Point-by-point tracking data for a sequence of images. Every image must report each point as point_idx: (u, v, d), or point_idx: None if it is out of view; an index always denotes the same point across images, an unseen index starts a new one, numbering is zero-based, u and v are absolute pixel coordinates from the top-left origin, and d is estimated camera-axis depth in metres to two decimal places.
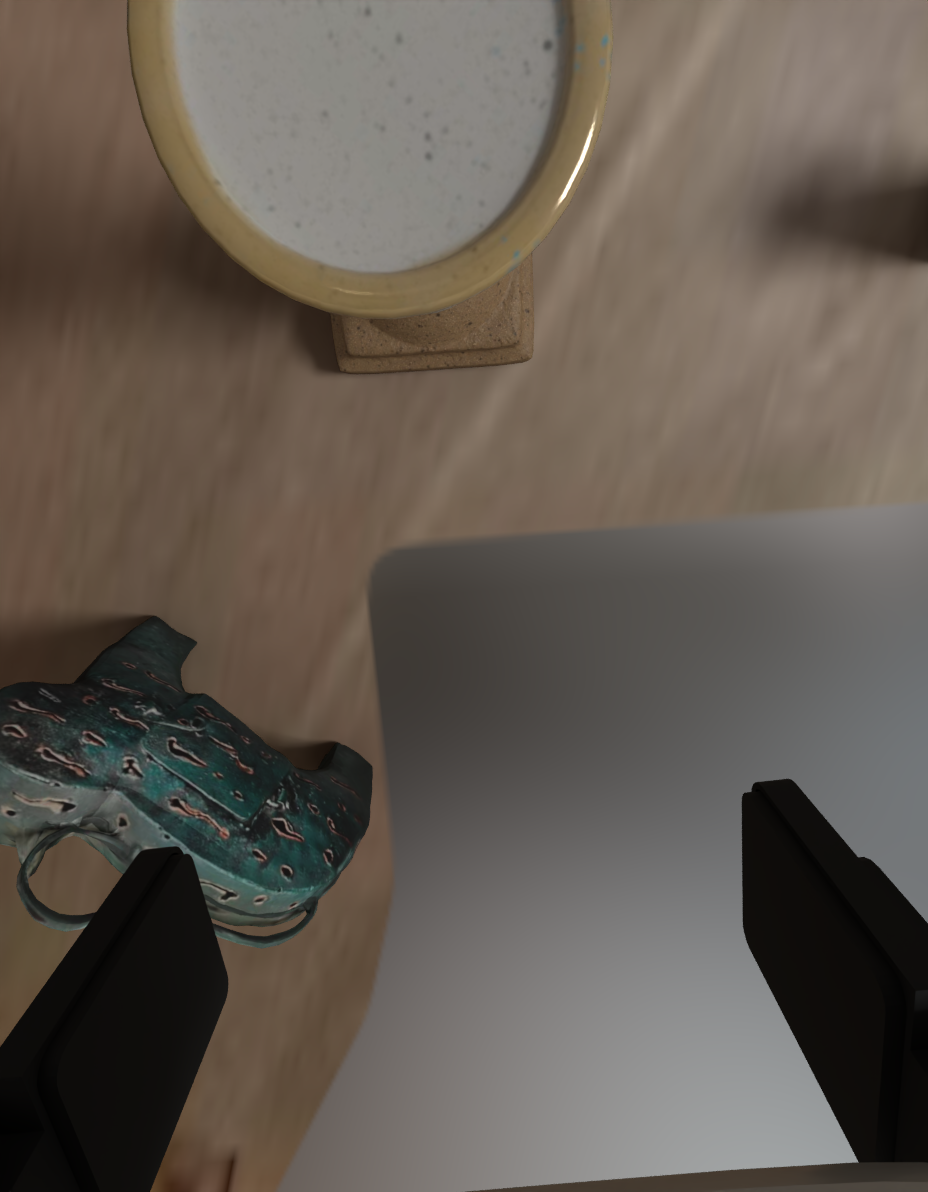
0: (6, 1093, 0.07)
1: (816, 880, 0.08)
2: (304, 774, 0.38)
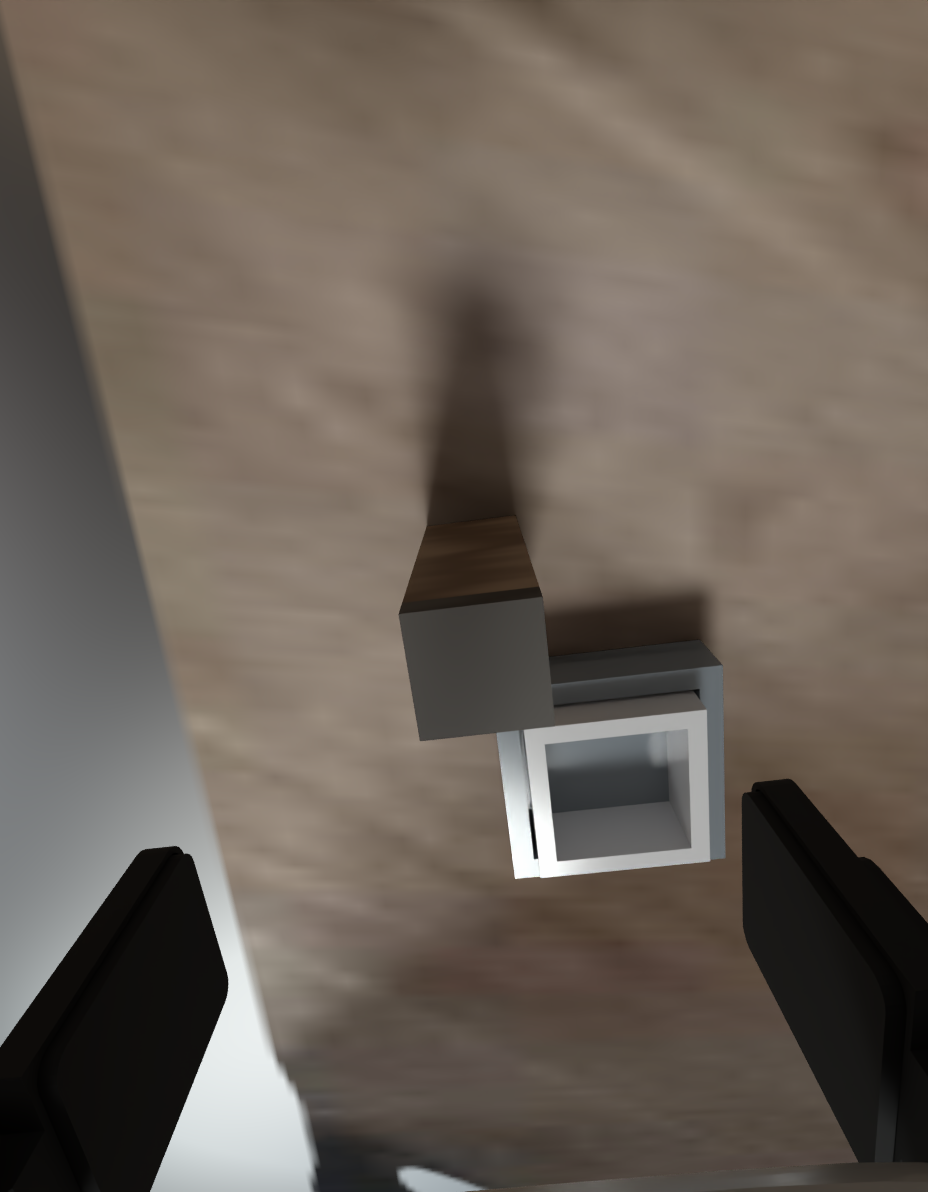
0: (6, 1093, 0.07)
1: (816, 880, 0.08)
2: None
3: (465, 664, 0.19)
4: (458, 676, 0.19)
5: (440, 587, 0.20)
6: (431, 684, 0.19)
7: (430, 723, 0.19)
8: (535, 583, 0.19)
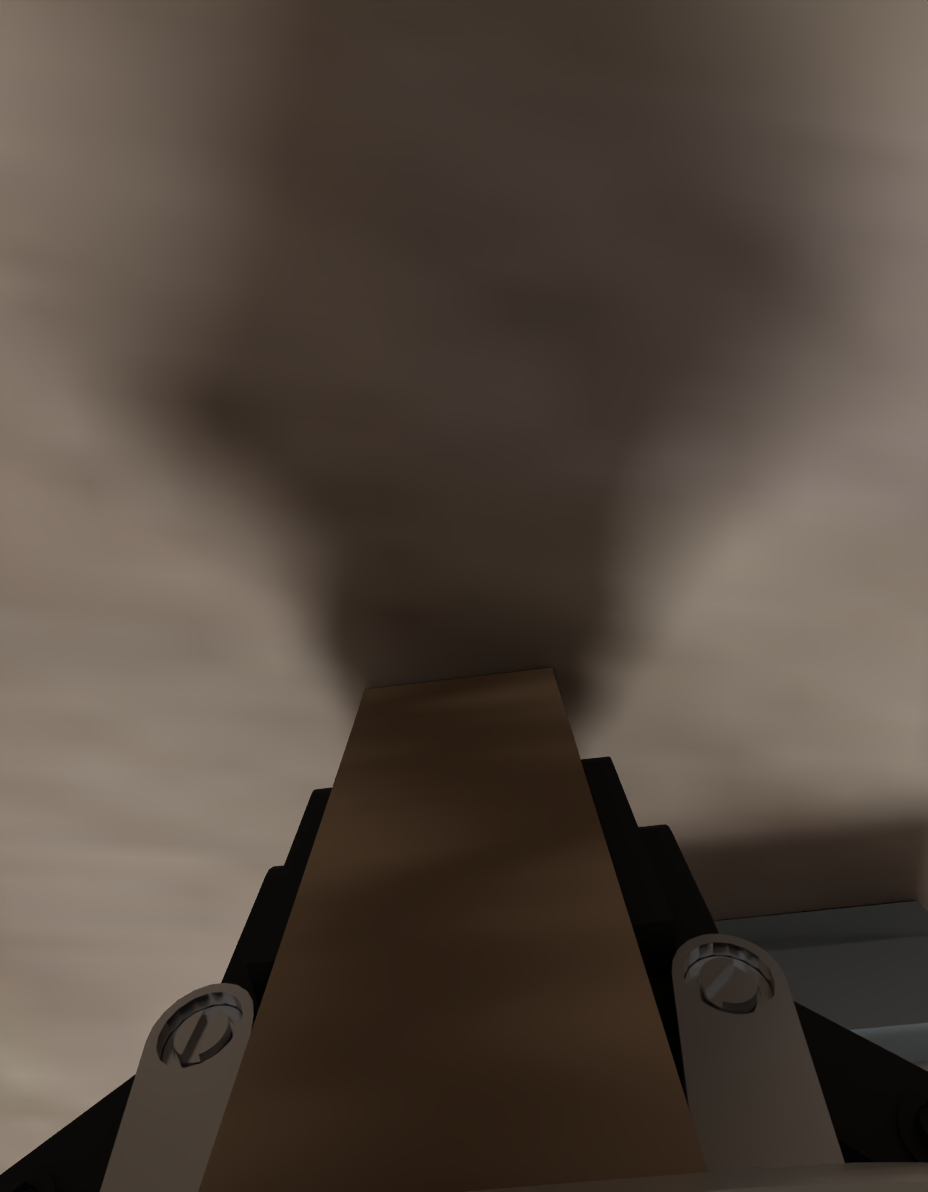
0: None
1: None
2: None
3: None
4: None
5: None
6: None
7: None
8: None
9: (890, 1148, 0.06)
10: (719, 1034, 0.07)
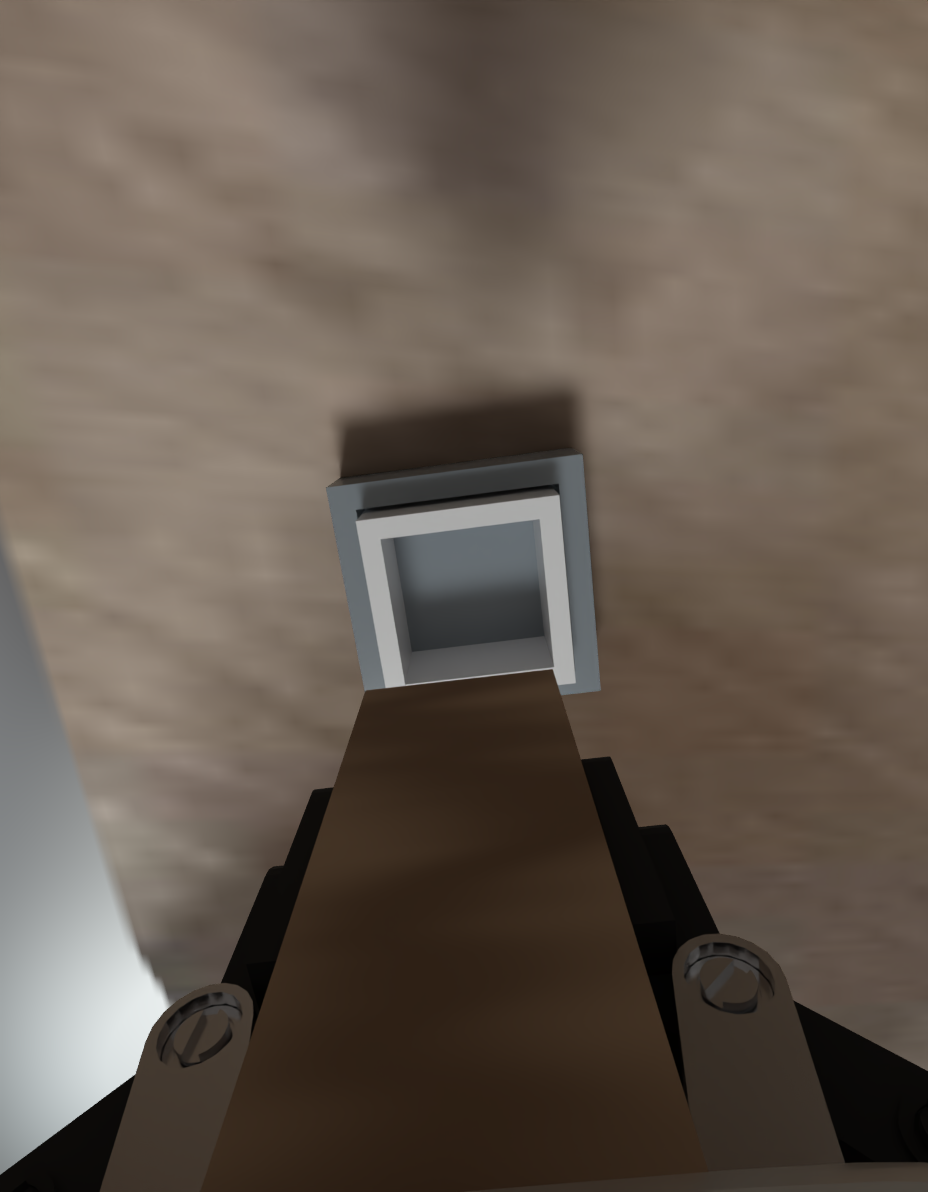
0: (270, 975, 0.08)
1: None
2: None
3: None
4: None
5: None
6: None
7: None
8: None
9: (890, 1148, 0.06)
10: (719, 1034, 0.07)
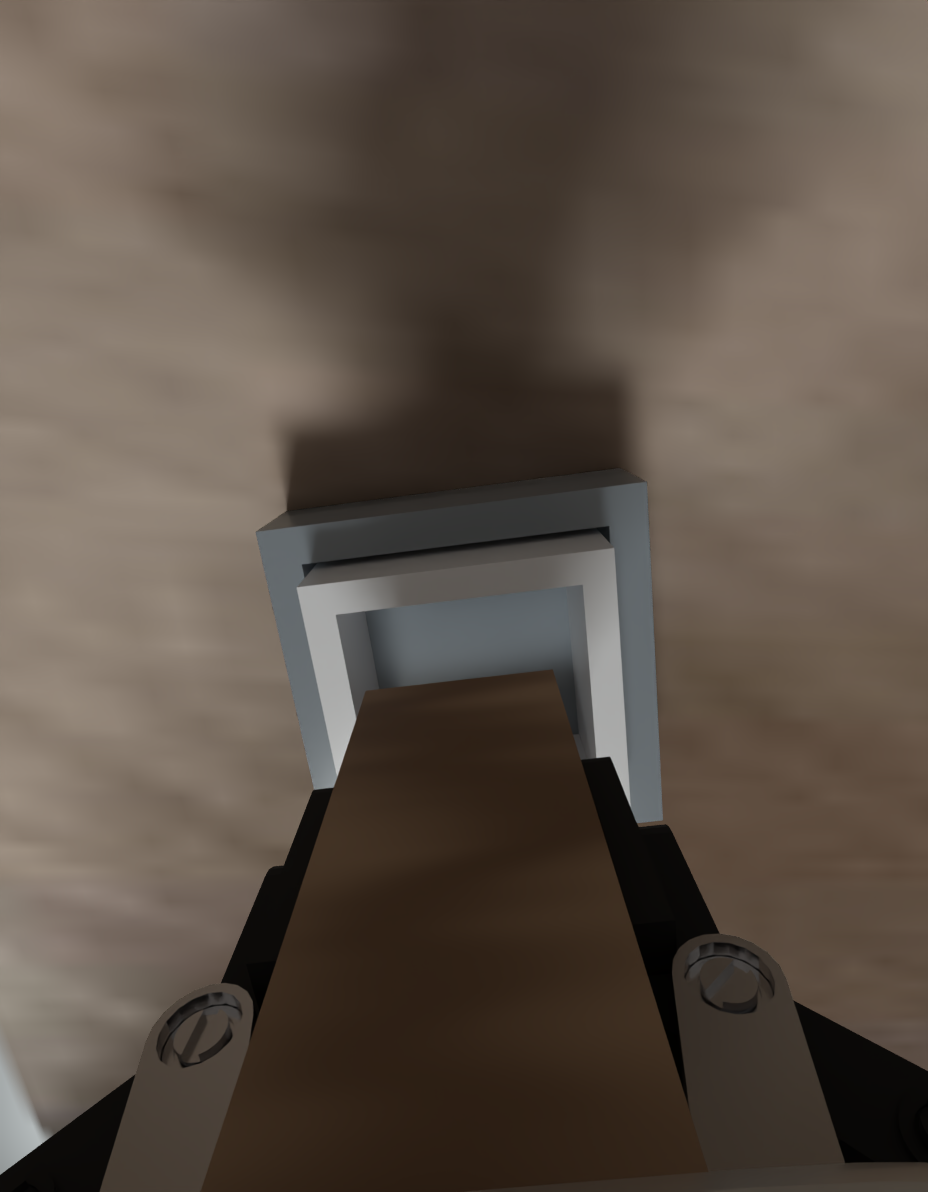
0: (270, 975, 0.08)
1: None
2: None
3: None
4: None
5: None
6: None
7: None
8: None
9: (891, 1148, 0.06)
10: (719, 1034, 0.07)
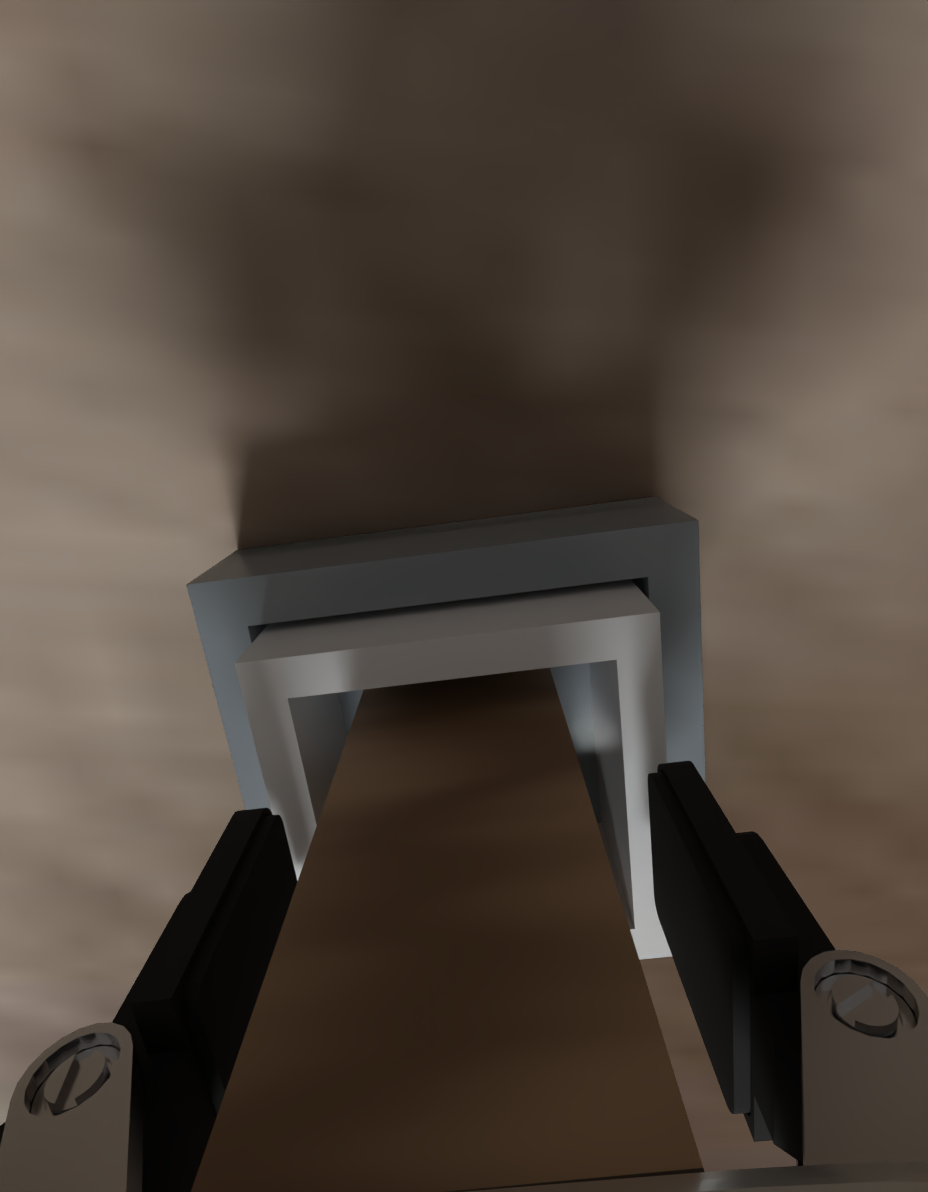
0: (155, 1014, 0.08)
1: (694, 849, 0.09)
2: None
3: None
4: None
5: (343, 1066, 0.06)
6: None
7: None
8: (679, 1122, 0.05)
9: None
10: (847, 1051, 0.06)
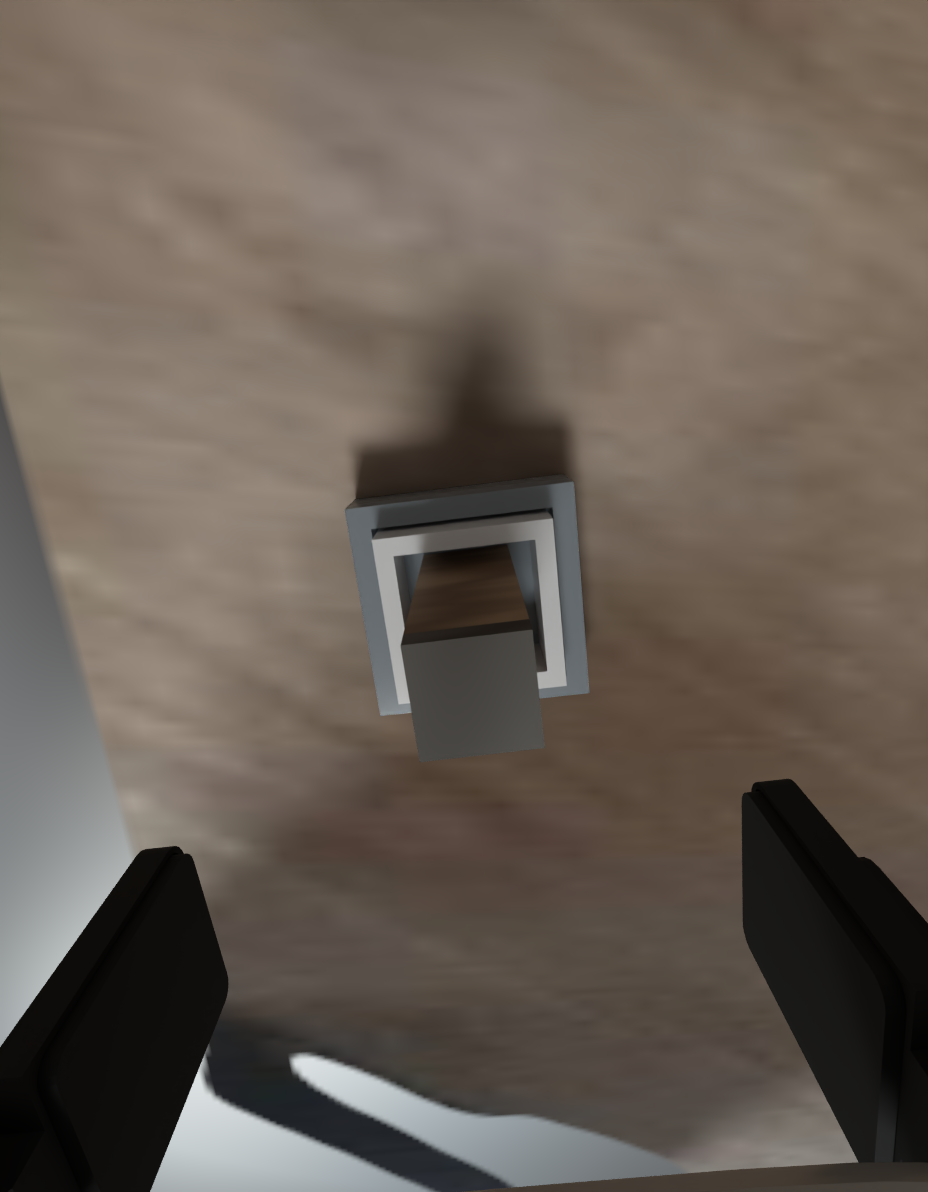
0: (7, 1093, 0.07)
1: (816, 880, 0.08)
2: None
3: (462, 691, 0.20)
4: (455, 702, 0.20)
5: (438, 619, 0.22)
6: (430, 709, 0.21)
7: (429, 745, 0.21)
8: (525, 615, 0.21)
9: None
10: None
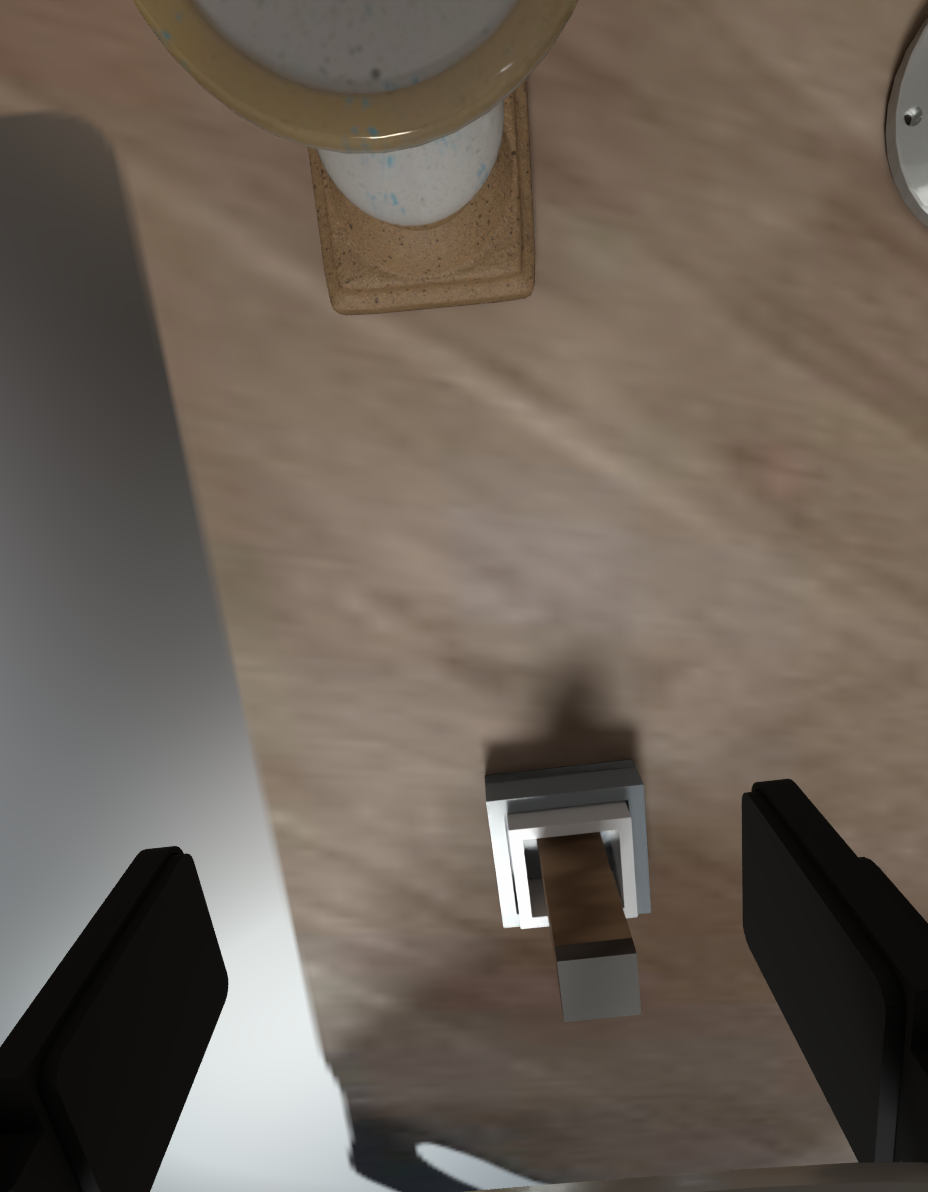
0: (6, 1093, 0.07)
1: (816, 880, 0.08)
2: None
3: (592, 985, 0.34)
4: (588, 990, 0.34)
5: (572, 927, 0.35)
6: (572, 994, 0.34)
7: (570, 1013, 0.34)
8: (628, 932, 0.34)
9: None
10: None
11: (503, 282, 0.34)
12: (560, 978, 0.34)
